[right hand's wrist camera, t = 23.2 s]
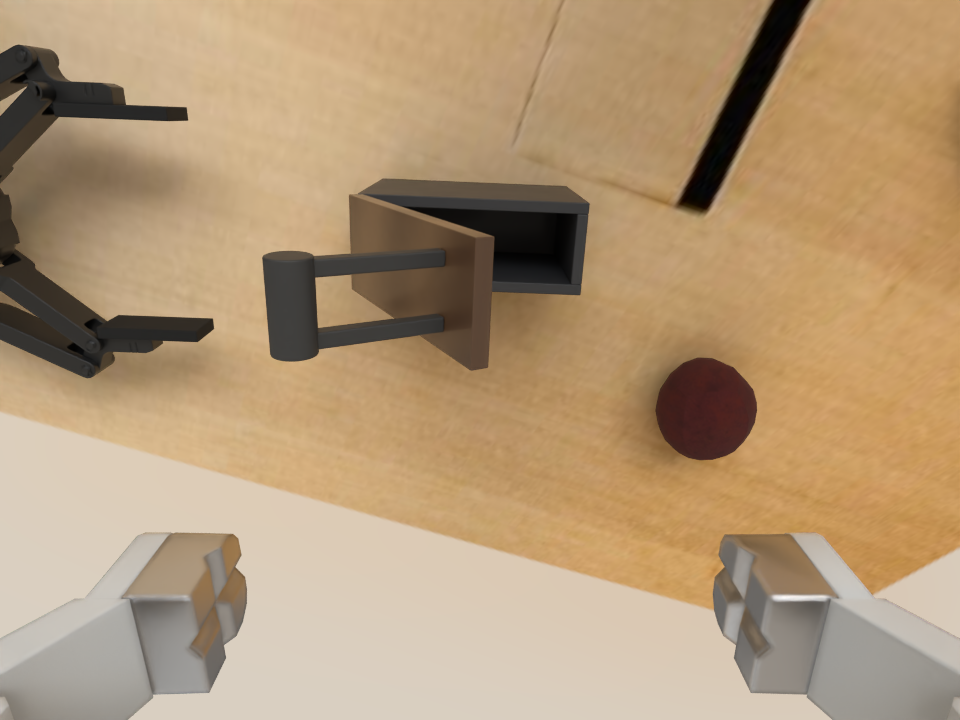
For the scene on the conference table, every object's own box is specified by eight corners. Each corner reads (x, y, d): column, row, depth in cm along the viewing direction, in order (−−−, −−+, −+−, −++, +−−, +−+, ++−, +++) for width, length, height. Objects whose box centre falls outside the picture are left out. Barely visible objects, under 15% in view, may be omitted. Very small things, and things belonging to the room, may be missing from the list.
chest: (566, 186, 46) (589, 203, 36) (560, 261, 48) (580, 295, 38) (382, 178, 46) (357, 193, 36) (383, 253, 47) (359, 286, 38)
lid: (495, 236, 24) (280, 249, 20) (488, 368, 26) (291, 403, 22) (363, 194, 36) (209, 197, 32) (365, 288, 38) (220, 301, 34)
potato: (649, 438, 53) (673, 483, 46) (642, 353, 50) (667, 388, 44) (737, 425, 52) (774, 469, 46) (735, 338, 50) (774, 371, 43)
